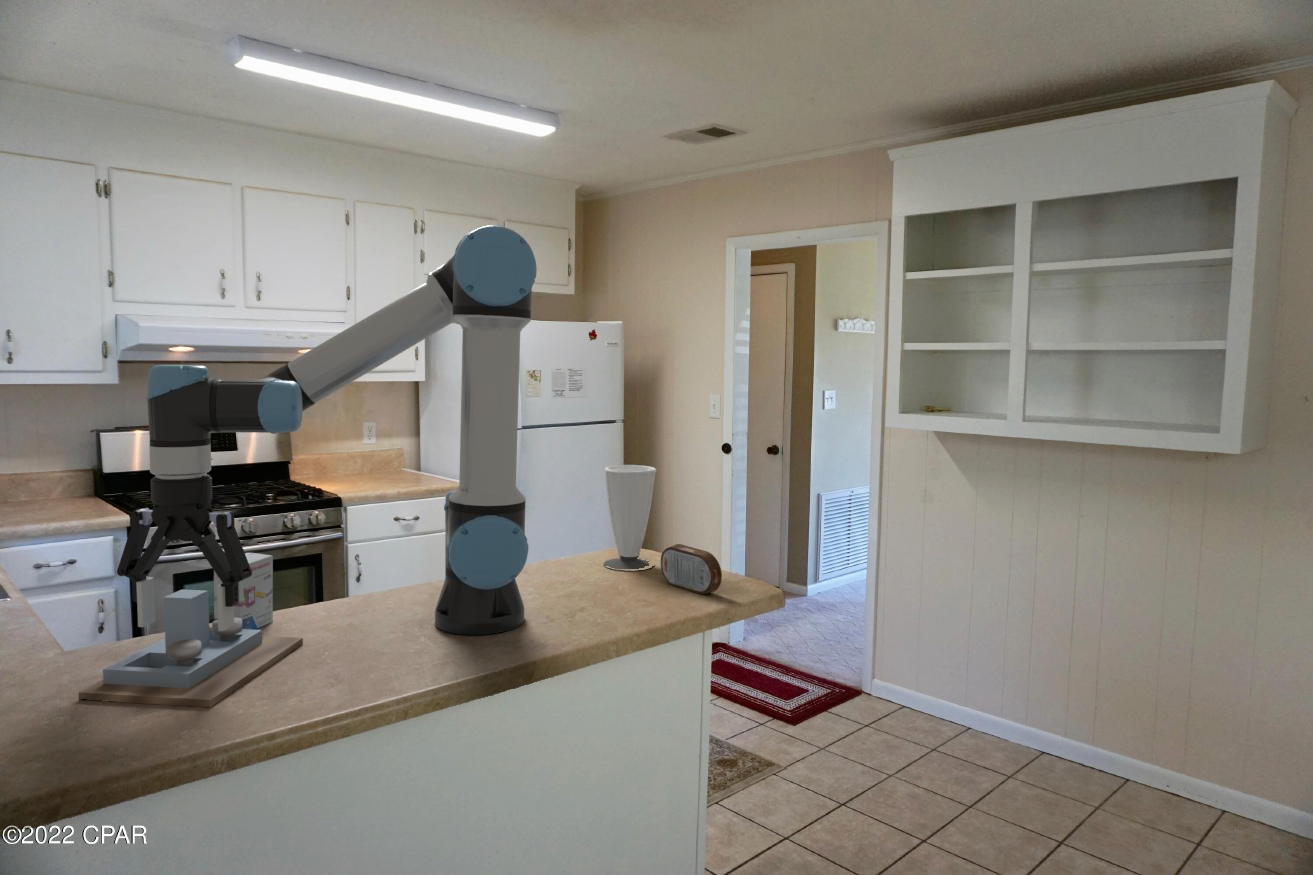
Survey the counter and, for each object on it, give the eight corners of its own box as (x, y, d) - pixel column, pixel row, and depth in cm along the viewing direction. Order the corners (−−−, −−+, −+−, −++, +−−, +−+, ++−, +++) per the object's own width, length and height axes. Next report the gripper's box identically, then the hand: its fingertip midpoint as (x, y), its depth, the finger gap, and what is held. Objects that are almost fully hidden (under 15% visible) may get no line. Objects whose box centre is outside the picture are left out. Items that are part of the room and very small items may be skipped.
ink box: (240, 637, 135) (238, 565, 134) (213, 635, 136) (211, 563, 135) (275, 621, 143) (273, 553, 142) (249, 618, 144) (247, 550, 143)
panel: (262, 642, 130) (260, 578, 129) (189, 688, 112) (186, 614, 111) (187, 638, 131) (185, 575, 130) (103, 683, 113) (100, 610, 112)
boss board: (302, 643, 133) (302, 609, 132) (210, 707, 109) (209, 665, 108) (193, 638, 134) (192, 604, 133) (78, 699, 110) (76, 658, 110)
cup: (661, 569, 183) (664, 471, 181) (610, 573, 179) (612, 472, 177) (645, 557, 194) (647, 464, 192) (597, 560, 190) (598, 465, 188)
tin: (722, 596, 164) (723, 553, 164) (711, 599, 162) (712, 556, 161) (668, 580, 175) (669, 540, 174) (657, 582, 173) (658, 542, 172)
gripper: (276, 473, 122) (279, 621, 124) (120, 468, 123) (126, 614, 126) (247, 481, 114) (251, 638, 116) (82, 475, 116) (89, 630, 118)
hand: (186, 626), depth 121 cm, fingers open, 11 cm apart
